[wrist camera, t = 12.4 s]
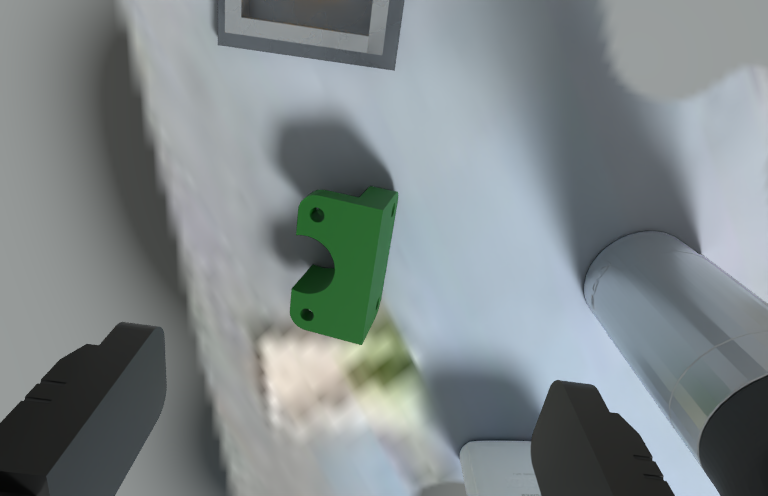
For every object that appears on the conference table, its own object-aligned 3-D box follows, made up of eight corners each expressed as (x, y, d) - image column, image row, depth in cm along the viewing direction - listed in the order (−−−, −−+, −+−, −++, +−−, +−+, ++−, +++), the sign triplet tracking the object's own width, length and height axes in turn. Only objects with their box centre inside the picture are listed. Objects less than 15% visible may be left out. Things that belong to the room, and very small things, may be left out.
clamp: (337, 183, 44) (305, 166, 35) (404, 198, 43) (389, 184, 34) (306, 317, 44) (267, 334, 35) (372, 335, 43) (348, 357, 34)
